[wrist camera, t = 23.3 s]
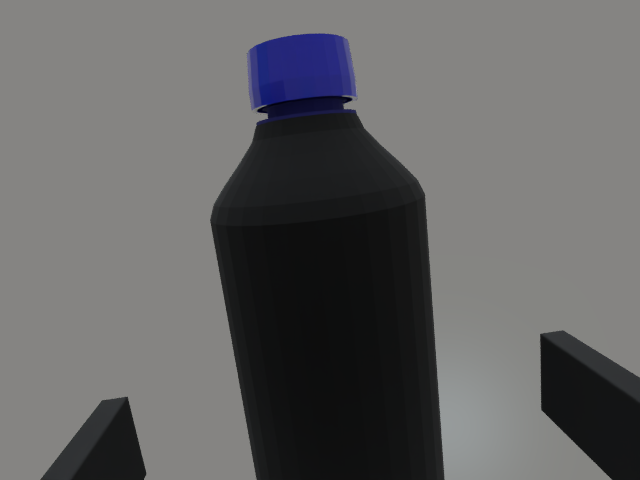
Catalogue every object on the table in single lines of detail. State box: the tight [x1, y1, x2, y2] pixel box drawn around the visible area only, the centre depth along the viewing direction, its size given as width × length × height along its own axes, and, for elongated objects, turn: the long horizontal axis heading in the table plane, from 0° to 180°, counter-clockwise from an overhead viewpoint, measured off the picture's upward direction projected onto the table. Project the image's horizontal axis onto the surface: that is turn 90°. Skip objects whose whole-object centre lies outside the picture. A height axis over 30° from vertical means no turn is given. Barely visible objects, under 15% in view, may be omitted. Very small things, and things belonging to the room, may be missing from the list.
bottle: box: [210, 34, 444, 480], centre depth 19 cm, size 9×9×28 cm
